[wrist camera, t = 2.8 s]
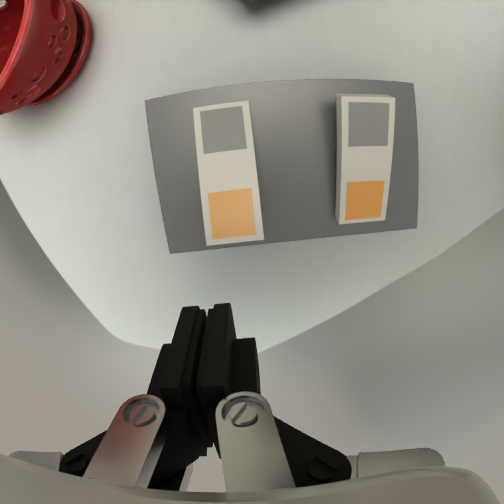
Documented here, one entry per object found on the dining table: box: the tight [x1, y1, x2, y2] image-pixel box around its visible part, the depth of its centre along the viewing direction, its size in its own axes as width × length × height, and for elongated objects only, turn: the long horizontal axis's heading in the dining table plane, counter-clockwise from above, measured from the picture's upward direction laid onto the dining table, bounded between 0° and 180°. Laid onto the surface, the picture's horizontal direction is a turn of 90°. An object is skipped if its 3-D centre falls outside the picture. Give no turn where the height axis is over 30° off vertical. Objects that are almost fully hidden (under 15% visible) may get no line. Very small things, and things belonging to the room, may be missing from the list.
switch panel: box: [145, 79, 418, 254], centre depth 25 cm, size 22×13×4 cm, turn 96°
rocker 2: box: [335, 94, 395, 224], centre depth 22 cm, size 4×10×1 cm, turn 6°
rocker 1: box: [193, 100, 264, 246], centre depth 22 cm, size 4×10×1 cm, turn 6°
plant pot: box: [0, 0, 91, 115], centre depth 16 cm, size 13×13×12 cm
